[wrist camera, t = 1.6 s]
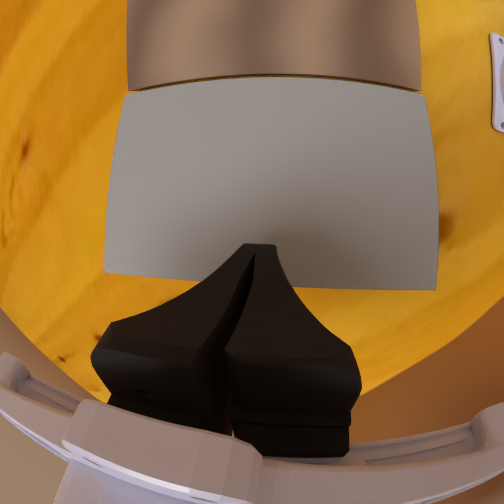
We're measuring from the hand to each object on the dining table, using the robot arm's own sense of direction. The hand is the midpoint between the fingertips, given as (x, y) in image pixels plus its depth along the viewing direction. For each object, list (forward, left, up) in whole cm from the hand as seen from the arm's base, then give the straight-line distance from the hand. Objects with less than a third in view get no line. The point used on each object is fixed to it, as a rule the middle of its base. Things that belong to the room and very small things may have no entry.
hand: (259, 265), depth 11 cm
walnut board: (0, -13, -8) cm, 15 cm away
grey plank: (0, -2, -5) cm, 5 cm away
